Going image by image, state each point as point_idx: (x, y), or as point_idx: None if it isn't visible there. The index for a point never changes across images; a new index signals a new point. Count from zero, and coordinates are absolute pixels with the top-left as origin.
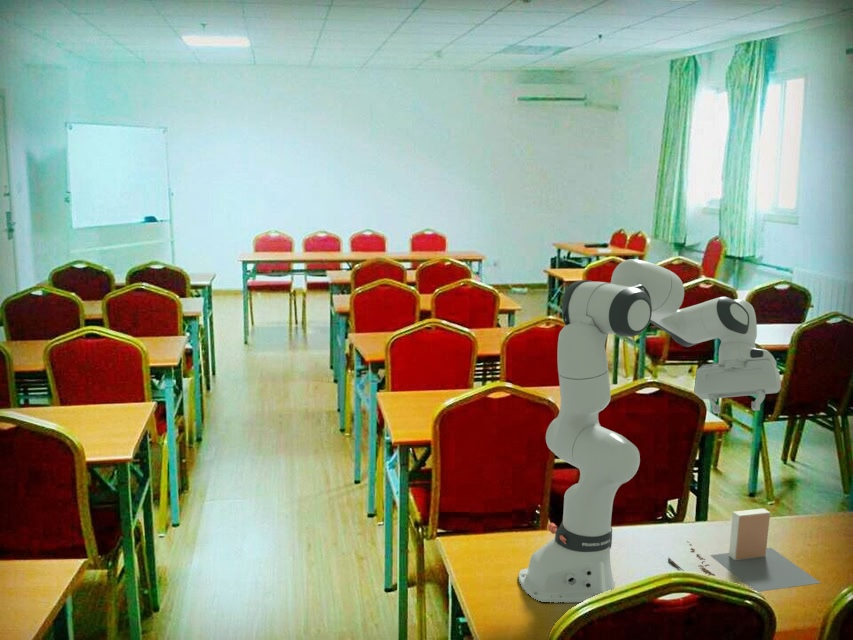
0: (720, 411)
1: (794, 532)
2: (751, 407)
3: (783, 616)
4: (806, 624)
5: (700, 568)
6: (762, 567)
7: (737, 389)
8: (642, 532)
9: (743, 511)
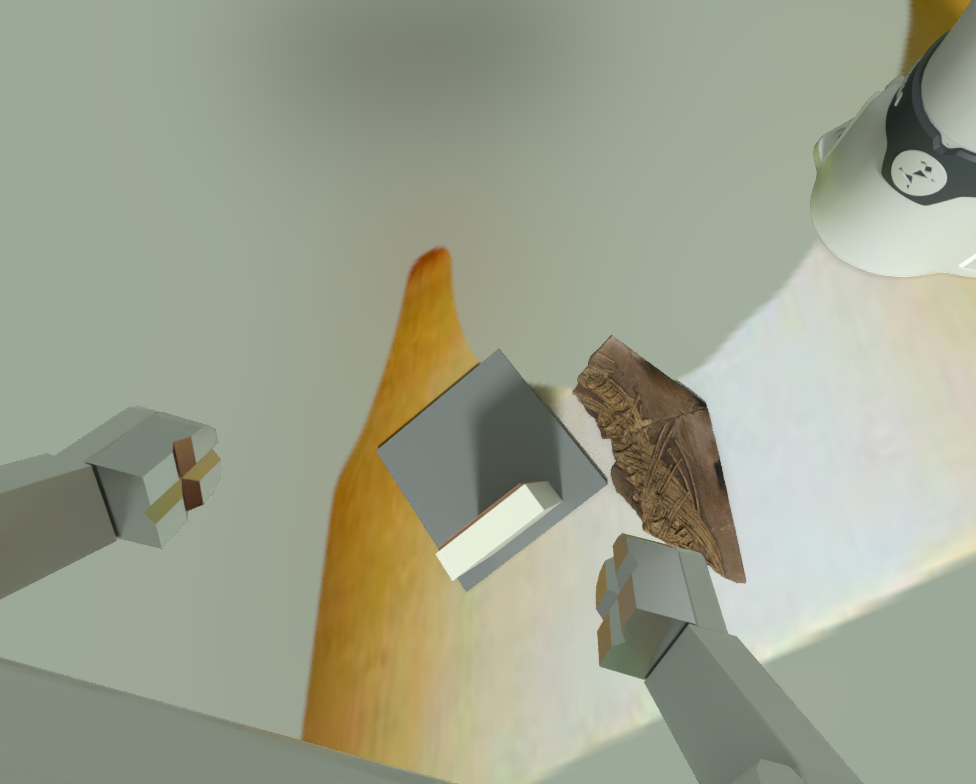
0: (598, 599)
1: (410, 728)
2: (205, 427)
3: (451, 289)
4: (415, 282)
5: (622, 399)
6: (486, 470)
7: (176, 730)
8: (824, 568)
9: (512, 526)
